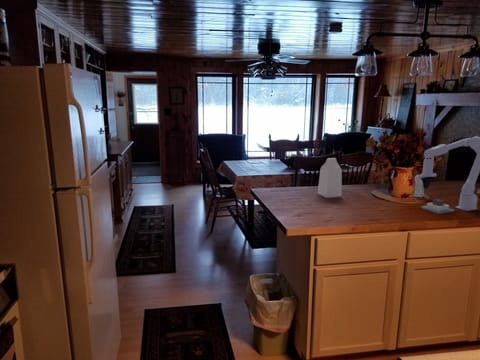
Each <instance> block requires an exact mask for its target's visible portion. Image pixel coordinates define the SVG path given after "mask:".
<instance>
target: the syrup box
mask: <svg viewBox="0 0 480 360" xmlns="http://www.w3.org/2000/svg"><path fill="white" fill-rule="evenodd" d="M418 175H419V174H417V175H415V176H414V181H415V189H414V193H413V192H412V197H413V196H414V198H419V197H420V199H421V198H423V197H424V193H425V188H424V187H423V182H422V180H421V178H417V177H418Z"/></svg>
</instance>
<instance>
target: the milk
mask: <svg viewBox="0 0 480 360" xmlns="http://www.w3.org/2000/svg"><path fill="white" fill-rule="evenodd" d="M342 173H343V170H342V168H341V165H339V163H338V161H337V158H336V157H331V158H330V157H328V158H327V159H326V161H325V162H324V164H322V166H321V167H320V170H319V179H318V188H317V194H318V195H319V196H321V197H324V198H326V199H328V198H338V197H339V198H340V197H342V191H343V190H342V188H343V186H342V183H343V182H342V181H343V179H342V177H343V174H342Z"/></svg>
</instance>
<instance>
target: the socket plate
mask: <svg viewBox="0 0 480 360" xmlns="http://www.w3.org/2000/svg"><path fill="white" fill-rule="evenodd" d="M420 208H421V209H422V210H425V211H429V212H431V213H432V212H433V213H434V214H438V215H441V214H447V213H453V212H455V211H456V210H455V209H453V208H450V205H449V204H446V203H443V206H437V205H434V204H433V201H432V202H427V203H426V205H422V206H420Z"/></svg>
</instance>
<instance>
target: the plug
mask: <svg viewBox="0 0 480 360" xmlns="http://www.w3.org/2000/svg"><path fill="white" fill-rule="evenodd" d="M432 200H433V201H432V202H433V204H434V205H437V206H443V204H445V203H444V202H445V201H444V200H442V199H438V198H436V199H432Z"/></svg>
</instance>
